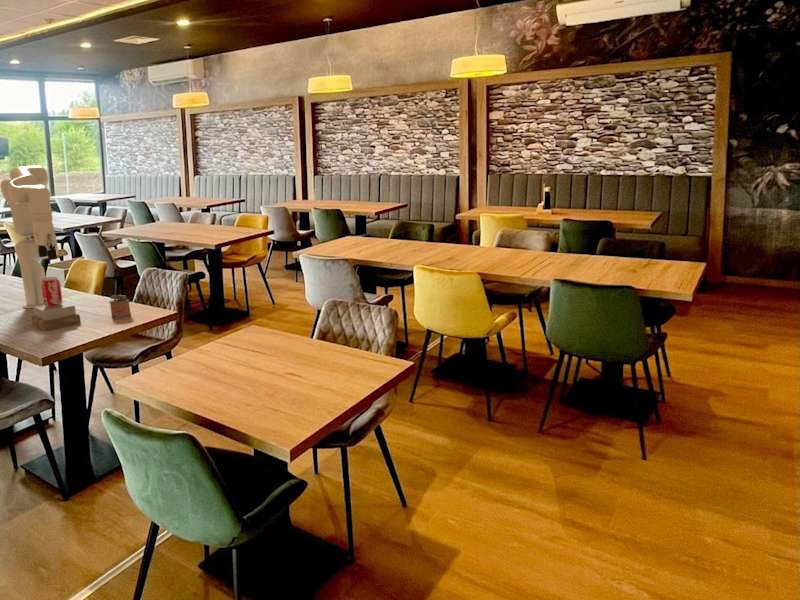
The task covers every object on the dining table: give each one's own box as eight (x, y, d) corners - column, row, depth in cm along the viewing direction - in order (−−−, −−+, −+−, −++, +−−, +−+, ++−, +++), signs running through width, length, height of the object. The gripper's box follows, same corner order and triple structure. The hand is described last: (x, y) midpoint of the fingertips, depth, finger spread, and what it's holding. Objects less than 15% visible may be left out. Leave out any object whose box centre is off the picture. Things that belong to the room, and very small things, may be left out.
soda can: (66, 304, 273) (62, 276, 270) (56, 308, 266) (52, 280, 263) (51, 303, 273) (47, 276, 270) (40, 308, 267) (36, 280, 264)
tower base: (32, 325, 271) (31, 316, 270) (66, 317, 281) (65, 309, 280) (46, 331, 262) (44, 321, 261) (80, 323, 272) (79, 314, 271)
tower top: (34, 315, 270) (33, 306, 269) (64, 310, 279) (62, 301, 278) (46, 320, 262) (44, 311, 261) (75, 314, 271) (74, 305, 270)
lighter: (131, 315, 284) (129, 293, 281) (130, 317, 280) (127, 295, 278) (112, 316, 282) (109, 294, 279) (111, 318, 279) (108, 296, 276)
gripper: (24, 216, 264) (30, 257, 268) (40, 219, 253) (46, 261, 257) (43, 214, 270) (49, 254, 274) (60, 217, 258) (66, 259, 263)
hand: (48, 258), depth 266 cm, fingers open, 9 cm apart
